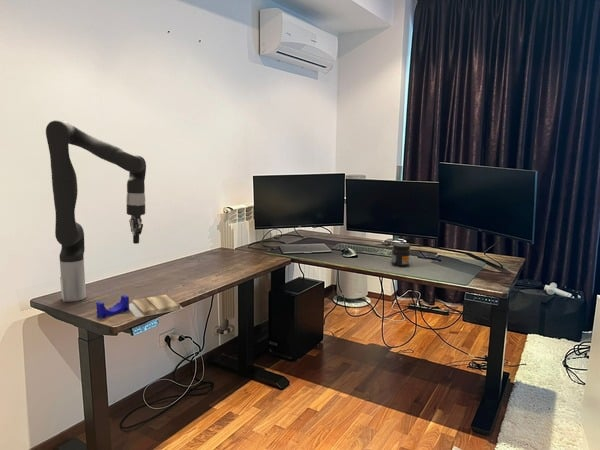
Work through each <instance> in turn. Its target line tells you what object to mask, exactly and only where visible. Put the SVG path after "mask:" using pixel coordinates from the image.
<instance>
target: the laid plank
mask: <svg viewBox="0 0 600 450" xmlns="http://www.w3.org/2000/svg"><path fill="white" fill-rule="evenodd" d="M131 301H132V302H131V303H133V305H134V306H135V307H136V308H137V309H138V310H139V311H140V312H141V313H142V314H143V315H149V314H154V313H157V312H156V308H155V307H153V306H152V305H151V304H150V303H149V302H148V301H147V300H146V298H145V297H142V298H137V299H132V300H131Z"/></svg>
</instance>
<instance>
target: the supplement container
mask: <svg viewBox="0 0 600 450" xmlns="http://www.w3.org/2000/svg"><path fill="white" fill-rule="evenodd" d="M410 249H411V245H410V244H408V243H402V242H397V243H393V245H392V249H391V265H392V266H393V265H394V267H396V266H398V268H408V267H409V266H410V264H411V253H412V252H411V250H410ZM407 266H408V267H407Z"/></svg>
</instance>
